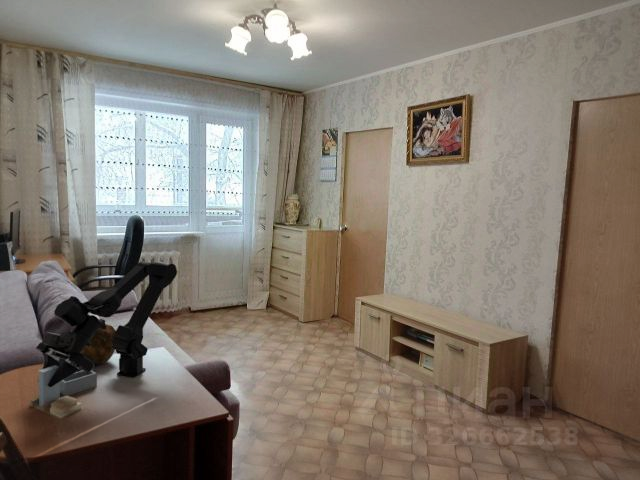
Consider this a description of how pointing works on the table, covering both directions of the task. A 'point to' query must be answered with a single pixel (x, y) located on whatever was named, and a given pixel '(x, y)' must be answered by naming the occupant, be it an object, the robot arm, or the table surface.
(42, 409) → the rack
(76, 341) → the robot arm
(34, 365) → the table surface
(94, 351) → the rock
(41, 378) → the panel
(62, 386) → the holder
